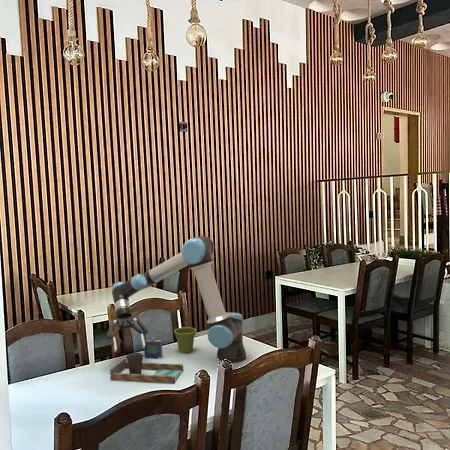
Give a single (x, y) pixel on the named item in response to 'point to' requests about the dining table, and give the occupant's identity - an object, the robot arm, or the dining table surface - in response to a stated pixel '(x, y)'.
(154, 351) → the flask
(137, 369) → the coffee cup
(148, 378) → the tray
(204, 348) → the dining table surface
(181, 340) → the plant pot
